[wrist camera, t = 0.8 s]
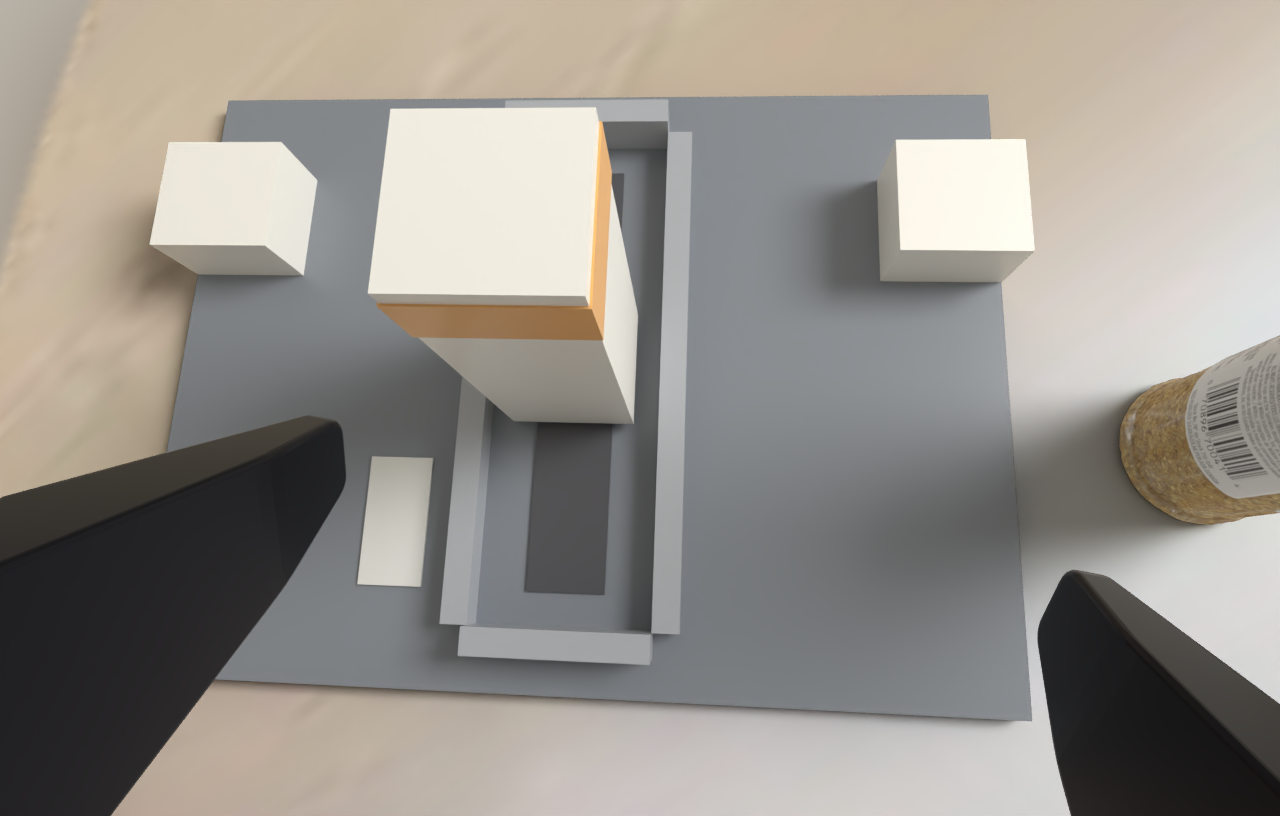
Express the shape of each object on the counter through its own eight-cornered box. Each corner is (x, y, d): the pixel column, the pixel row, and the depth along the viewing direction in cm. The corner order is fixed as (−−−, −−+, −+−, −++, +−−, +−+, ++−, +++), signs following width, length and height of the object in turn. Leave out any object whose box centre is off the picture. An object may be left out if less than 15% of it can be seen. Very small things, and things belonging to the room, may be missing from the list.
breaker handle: (635, 425, 23) (588, 298, 13) (512, 422, 24) (364, 296, 13) (640, 313, 24) (598, 104, 14) (520, 311, 24) (388, 106, 14)
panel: (1022, 717, 22) (1074, 739, 19) (141, 672, 24) (64, 686, 21) (981, 105, 26) (1017, 46, 23) (238, 110, 28) (185, 56, 25)
